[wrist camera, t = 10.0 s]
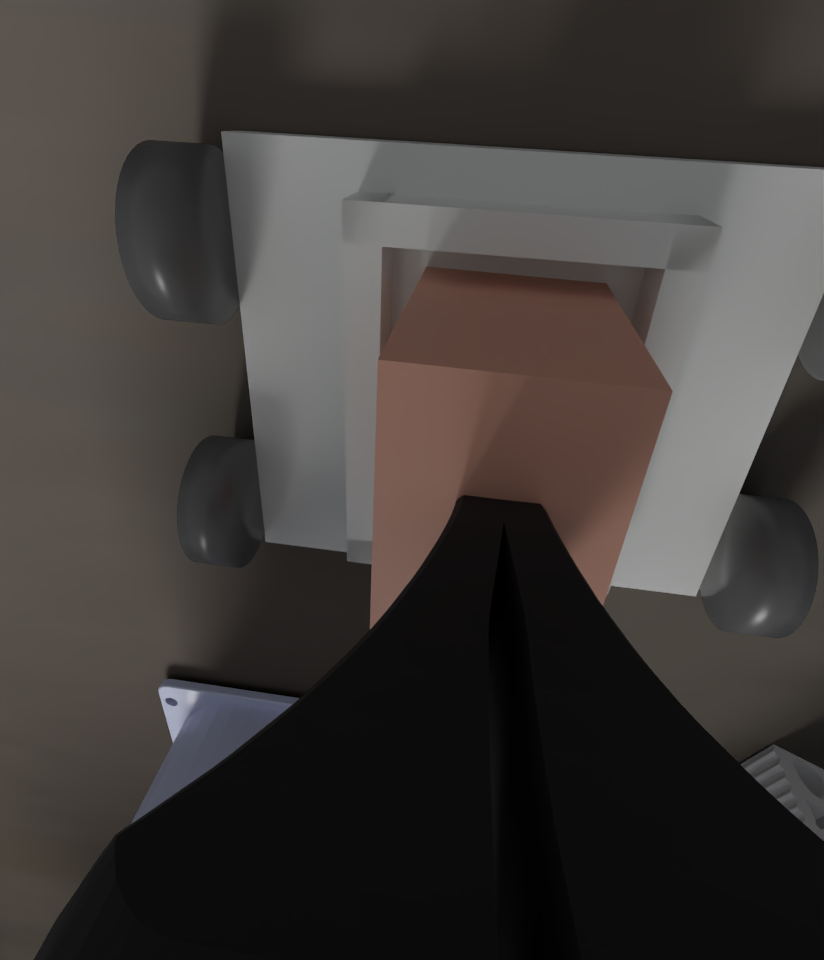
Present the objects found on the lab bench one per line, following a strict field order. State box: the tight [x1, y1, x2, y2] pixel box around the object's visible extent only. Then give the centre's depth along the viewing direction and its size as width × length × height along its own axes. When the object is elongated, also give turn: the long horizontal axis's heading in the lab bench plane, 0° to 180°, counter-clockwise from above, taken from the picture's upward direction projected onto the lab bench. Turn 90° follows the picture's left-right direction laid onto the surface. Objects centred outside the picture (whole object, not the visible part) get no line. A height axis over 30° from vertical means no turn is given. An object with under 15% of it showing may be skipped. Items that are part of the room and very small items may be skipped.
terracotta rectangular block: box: [370, 267, 673, 629], centre depth 12 cm, size 6×4×6 cm, turn 177°
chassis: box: [115, 130, 824, 638], centre depth 14 cm, size 11×15×4 cm
